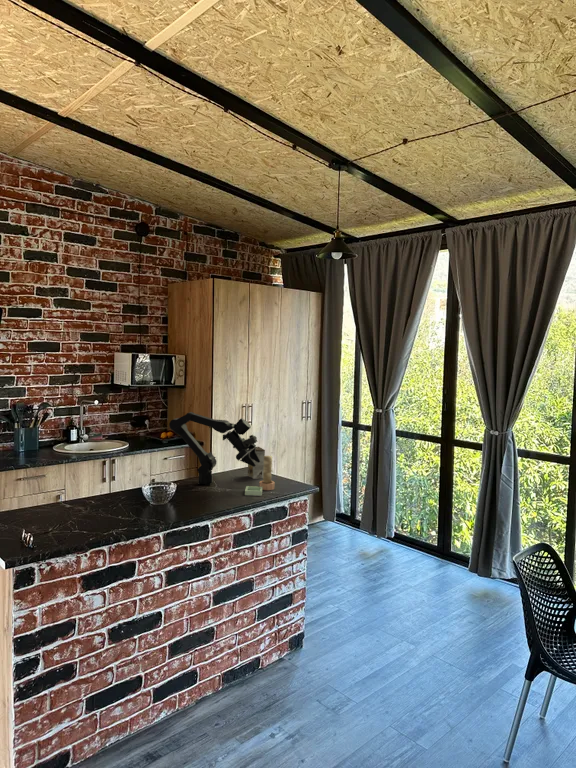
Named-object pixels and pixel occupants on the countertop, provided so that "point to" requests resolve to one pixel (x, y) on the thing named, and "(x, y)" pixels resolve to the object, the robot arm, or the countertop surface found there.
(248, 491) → the tray
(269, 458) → the dowel
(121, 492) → the countertop surface
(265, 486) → the holder
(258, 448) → the coffee box
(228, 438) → the robot arm
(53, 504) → the countertop surface
